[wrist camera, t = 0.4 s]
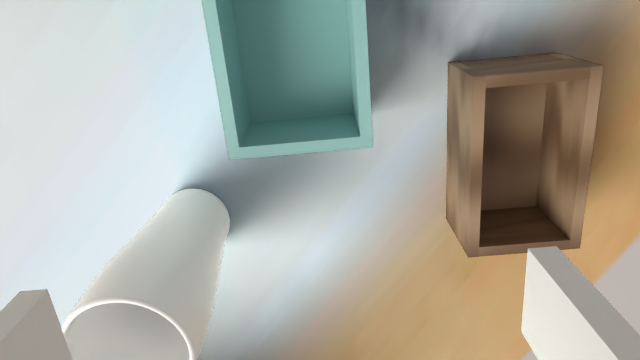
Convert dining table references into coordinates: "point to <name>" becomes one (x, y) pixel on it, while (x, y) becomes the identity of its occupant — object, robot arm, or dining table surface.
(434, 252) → the dining table surface
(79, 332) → the drinking glass
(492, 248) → the walnut crate
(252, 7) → the teal crate
